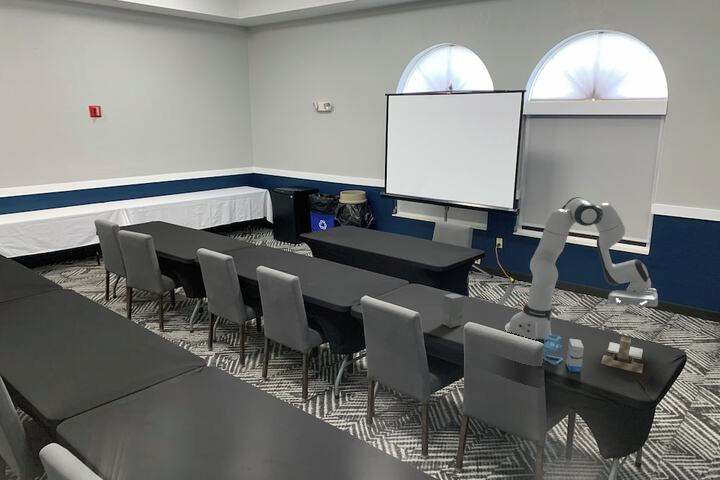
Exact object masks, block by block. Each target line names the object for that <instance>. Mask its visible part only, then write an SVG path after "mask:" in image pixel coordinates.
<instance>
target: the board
mask: <svg viewBox="0 0 720 480" xmlns="http://www.w3.org/2000/svg"><path fill="white" fill-rule="evenodd" d="M619 347H620V343H615V342H611V341H610V342H609V345H608V349H607V353H611V354H614V352H616V353H619ZM643 350H644V349H643V348H639V347H634V346H630V351H629V356H634V359H638V360H642V358H643Z"/></svg>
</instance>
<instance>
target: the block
mask: <svg viewBox="0 0 720 480" xmlns="http://www.w3.org/2000/svg"><path fill="white" fill-rule="evenodd" d="M619 344H620V347H619V353H618V359H616V361H621V362H625V363H629V362H628V358H629V351H630V347H631V344H632V338H631V337H627V336H626V337H625V336H621V337H620V340H619Z"/></svg>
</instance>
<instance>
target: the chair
mask: <svg viewBox="0 0 720 480" xmlns="http://www.w3.org/2000/svg"><path fill="white" fill-rule="evenodd" d="M553 337H554V338H553ZM542 340H543V342H544V343H543V344H544V349H543V348H542V352H543V356H544V361H545V362H547V361H548V362H547V363H549V364H551V365H552V364H553V365H552V366H554V365H555V366H554V367H556V366H558V365H559V364H561V363H562V362H563V361H564V358H563V357H559V356H554V355H550V354H549V352H550V351H552V352H554V353H555V352H556V353H557V351H558V350H560V349H562V348H563V345H562V343H561V342H562V340H563V338H562V337H561V336H560V335H558V334H552V335H549V338H543V339H542ZM547 357H548V358H547ZM552 358H553V359H554V360H557V361H555V362H554V361H552V360H551V359H552Z"/></svg>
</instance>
